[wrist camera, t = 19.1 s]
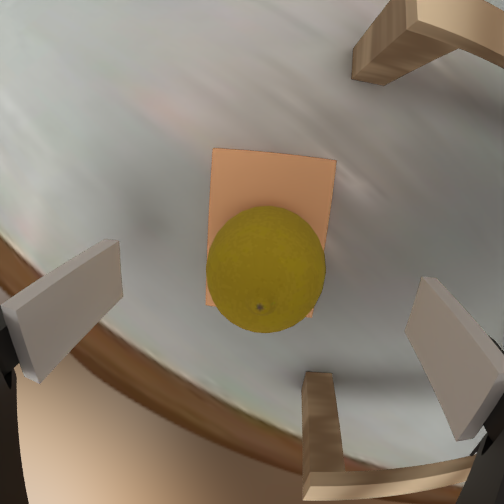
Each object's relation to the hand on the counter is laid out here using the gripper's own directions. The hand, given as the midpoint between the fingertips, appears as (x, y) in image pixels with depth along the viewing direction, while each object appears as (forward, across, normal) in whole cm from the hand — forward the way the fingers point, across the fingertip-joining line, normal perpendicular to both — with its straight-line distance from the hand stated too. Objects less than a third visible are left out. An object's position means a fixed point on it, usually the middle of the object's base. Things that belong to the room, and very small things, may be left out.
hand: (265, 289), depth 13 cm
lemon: (+7, 0, 0) cm, 7 cm away
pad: (+7, 0, 0) cm, 7 cm away
